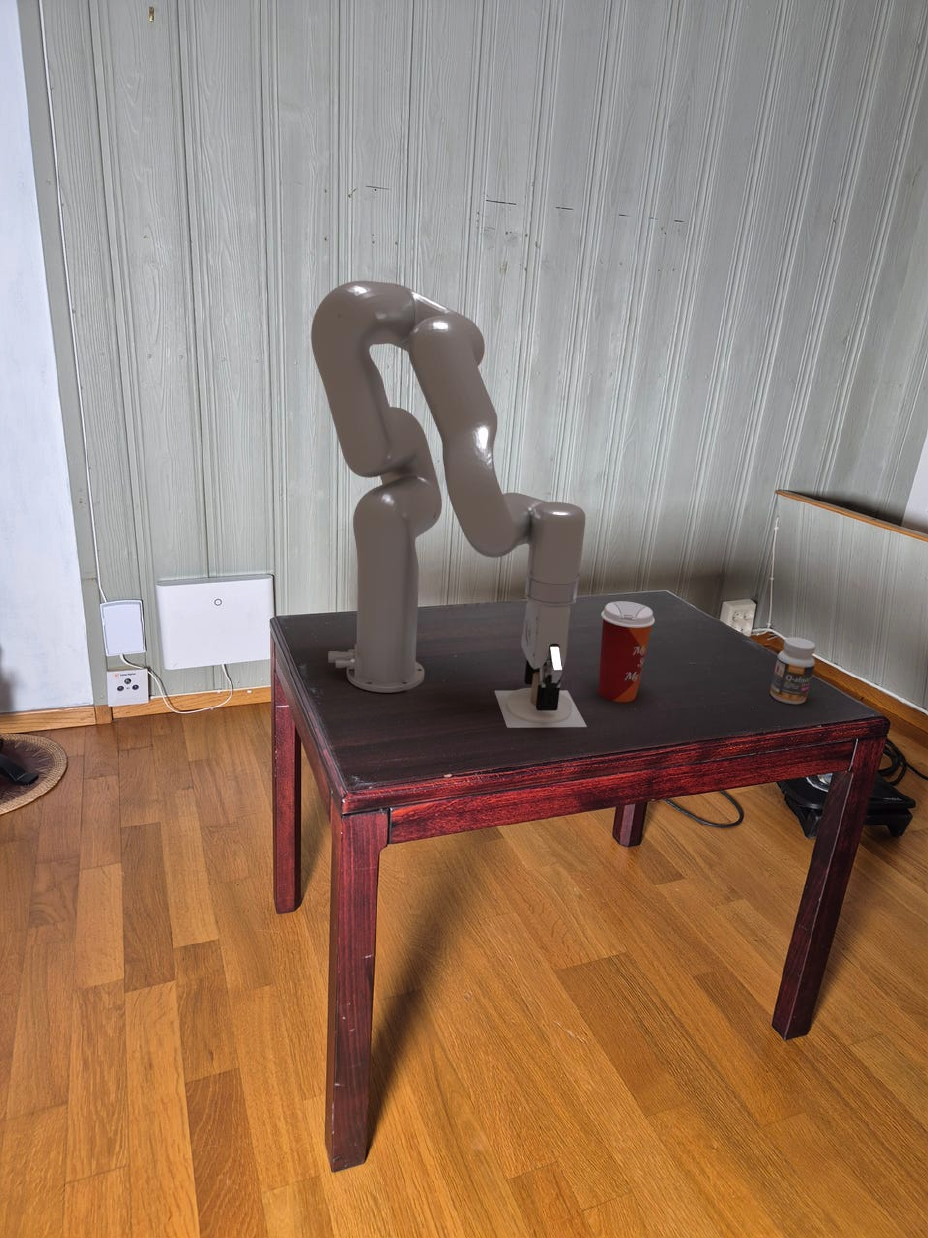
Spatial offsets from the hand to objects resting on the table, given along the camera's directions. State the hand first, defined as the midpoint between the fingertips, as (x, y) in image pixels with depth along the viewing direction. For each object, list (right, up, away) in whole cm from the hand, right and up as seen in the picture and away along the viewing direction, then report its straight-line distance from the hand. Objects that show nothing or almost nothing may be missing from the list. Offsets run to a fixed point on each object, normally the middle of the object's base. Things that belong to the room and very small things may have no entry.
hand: (540, 695), depth 128 cm
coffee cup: (+13, -1, +8) cm, 15 cm away
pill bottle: (+42, -1, +11) cm, 43 cm away
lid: (0, -2, +1) cm, 2 cm away
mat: (0, -2, +1) cm, 2 cm away
